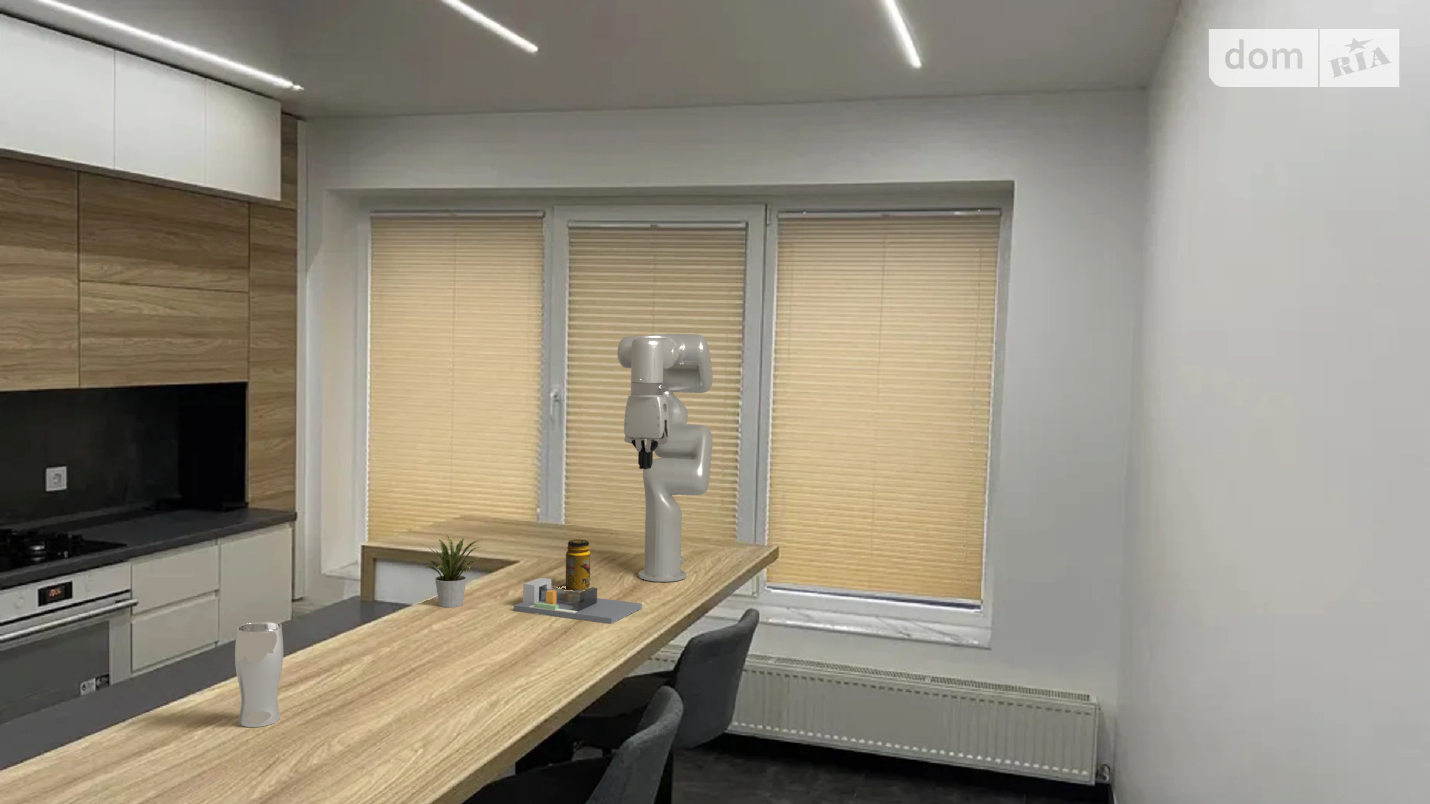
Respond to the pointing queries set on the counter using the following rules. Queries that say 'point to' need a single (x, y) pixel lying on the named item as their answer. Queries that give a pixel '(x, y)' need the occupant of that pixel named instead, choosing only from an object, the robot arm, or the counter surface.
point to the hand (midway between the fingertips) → (645, 468)
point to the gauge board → (597, 612)
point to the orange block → (551, 597)
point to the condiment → (577, 566)
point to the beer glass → (259, 672)
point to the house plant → (451, 574)
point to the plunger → (572, 597)
